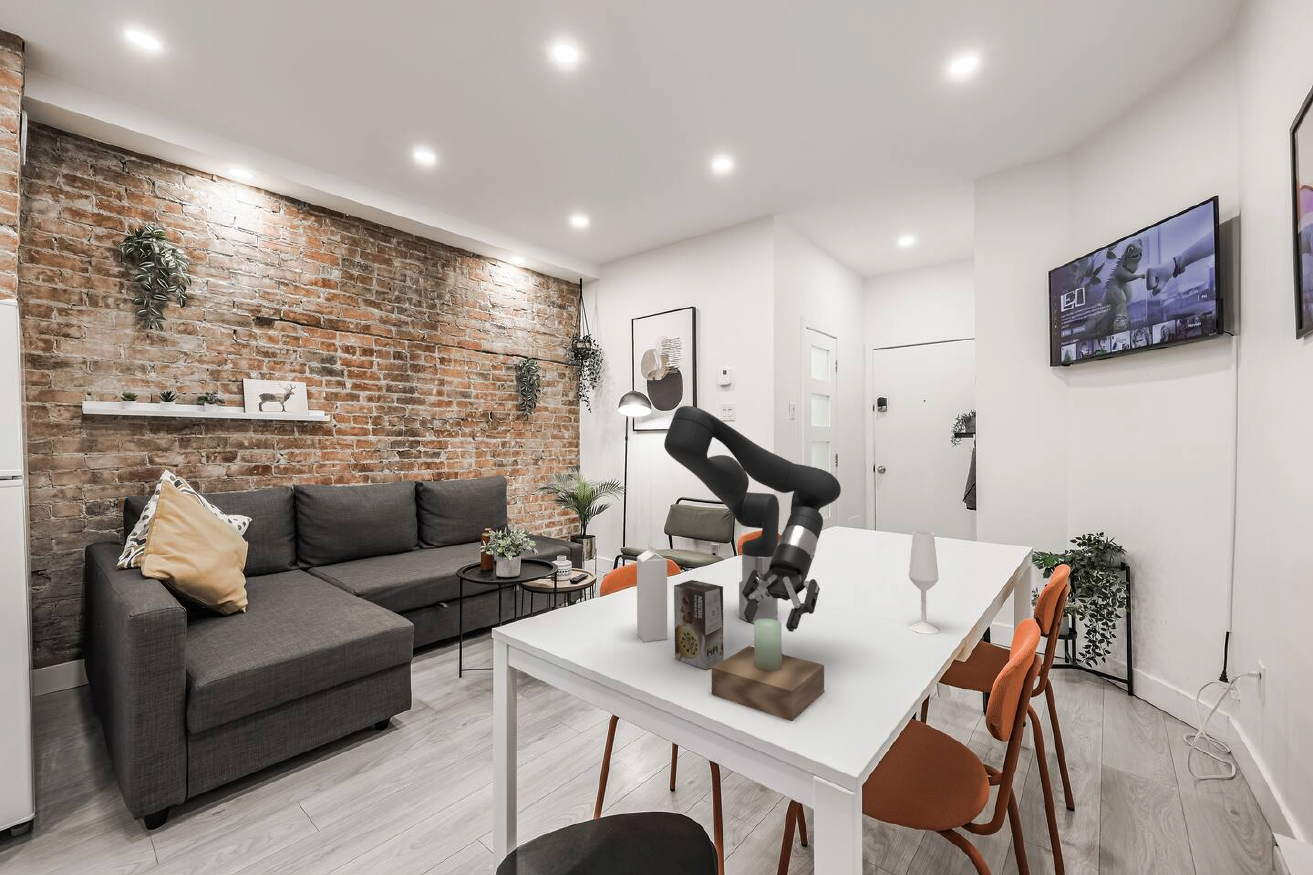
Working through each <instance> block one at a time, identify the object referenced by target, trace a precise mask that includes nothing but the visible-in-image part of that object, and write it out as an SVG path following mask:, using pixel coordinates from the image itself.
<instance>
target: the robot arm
mask: <svg viewBox="0 0 1313 875" xmlns="http://www.w3.org/2000/svg"><path fill="white" fill-rule="evenodd" d="M713 439H716V440H717V441H718V442H720V443H722V444H723V446H725V447H726V448H727V449H728V451H729V452H730V453H731V454H732V455H733V457H731V456H729V455H725V454H720V455H719V454H718V455H712V456H710V457H708V452H709V449H710V446H711V443H712V441H713ZM663 446H664V449H665V451H666V453H667V454H668V455H669V456H670V457H671V458H672V459H674V460H675V461H676V462H678V463H679V464H680V465H681V466H683V467H684V468H685V469H687V470H688V471H690V472H691V473H692V474H694V476H696V477H697V479H699V480H700V481H701V482H702V483H703V485H704V486H706V488H708V490H709V491H710V492H711V493H712V494H714V496H715V497H717V498H718V500H720V501H721V502H722V503H723V504H724V505H725V506H726V507H727V508H728V510H729V511H730V513H731V514H732V516H733V517H734V518H735V520H736V521H737V522H738V523H739V524H740V525H741V526H743V527H746V528H752V529H753V528H755V529H761V534H760V535H759V536H758V537H756V538H753V539H748V540H746V541H743V542H742V545H741V573H742V574H741V575H742V576H741V578H742V579H741V581H739V582H738V618H739V619H742V620H744V621H745V622H747V623H752V624H754V621H755V620H758V619H774V620H777V621H779V619H778V617H779V609H778V608H779V606H778V604H779V603H778V602H779V601H778V600H779V599H781V600H782V601H783V600H784V601H786V602H787V601H789V600H790V601H791V602H792V605H793V608H792V607H791V610H790V612H789V614H788V618H787V621H786V624H785V627H786V629H787V631H788V632H791V633H793V632H794V630H797V628H798V627H799V624H800V620H801V618H802V615H804V614H809V615H811V614H814V613H815V609H816V605H817V600H818V598H819V593H820V590H821V589H820V587H819V584H818V582H817V580H816V579H814V578H812V579H810V580H807V577H808V576H809V575H808V574H809V572H810V568H811V566H812V562H813V560H814V558H815V555H816V551H817V545H818V542H819V539H820V536H821V532H822V530H823V526H824V519H823V516H822V513H820V510H821V509H822V508H824V507H826V506H828V505H831V504H832V503H834V502H835V501H837V499H838V498H839V497H840V496H841V491H842V488H841V484H840V482H839V480H838V478H836V477H835V476H834V475H833V474H832V473H831V472H829V471H826V470H824V469H822V468H817V467H814V466H809V465H804V464H799V463H794V462H792V461H790V460H788V459H786V458H783V457H782V456H780V455H777V454H775V453H773V452H771V451H769V450H767V449H766V448H764V447H762V446H760V445H758V444H756V443H755V442H753V441H752V440H750V439H749V438H748V437H746V436H745V435H743V434H742V433H740V431H737V430H736V429H734V427H732V426H730V425H728V423H725V422H724V421H722V420H721V419H719V418H717V417H716V416H714V415H713V414H712V413H710V412H708V411H706V410H704V409H701V408H698V407H695V406H692V405H683V406H680V407H678V408H677V409H676V411H675V412H674V415H673V417H672V420H671V422H670V424H669V428H668V430H667V432H666V436H665V438H664V444H663ZM749 477H750V478H751V479H752V480H754V481H755V482H757V483H759V484H761V485H763V486H765V487H767V488H770V489H772V490H775V491H776V492H779V493H782V494H788V493H792V492H793V493H792V495H791V504H790V515H789V516H788V519H787V523H786V525H785V527H784V529H783V532H782V533H781V535H780V537H779V528H780V527H779V526H780V525H779V524H780V522H779V521H780V502H779V499H778V497H777V495H776V494H774V493H766V492H765V493H763V492H749V491H748V490H749V483H750V480H749ZM803 590H806V594H805V599H804V602H801V600H800V598H799V597H800V596H798V594H799V593H801V592H802V591H803Z"/></svg>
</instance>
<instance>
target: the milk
mask: <svg viewBox="0 0 1313 875" xmlns="http://www.w3.org/2000/svg"><path fill="white" fill-rule="evenodd" d="M647 547H648V548H647V550H645V551H644V552H642V553H641V554H639V555H638V556H636V625H637V626H636V634H637V636H638V637H639V638H640V640H642V642H643V643H647V642H648V643H650V642H658V641H666V640H668V559H666V558H665V557H663V556H662V555H659V554H658V553H657V552H656V547H655V546H654V545H652V544H650V543H648V546H647Z"/></svg>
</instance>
